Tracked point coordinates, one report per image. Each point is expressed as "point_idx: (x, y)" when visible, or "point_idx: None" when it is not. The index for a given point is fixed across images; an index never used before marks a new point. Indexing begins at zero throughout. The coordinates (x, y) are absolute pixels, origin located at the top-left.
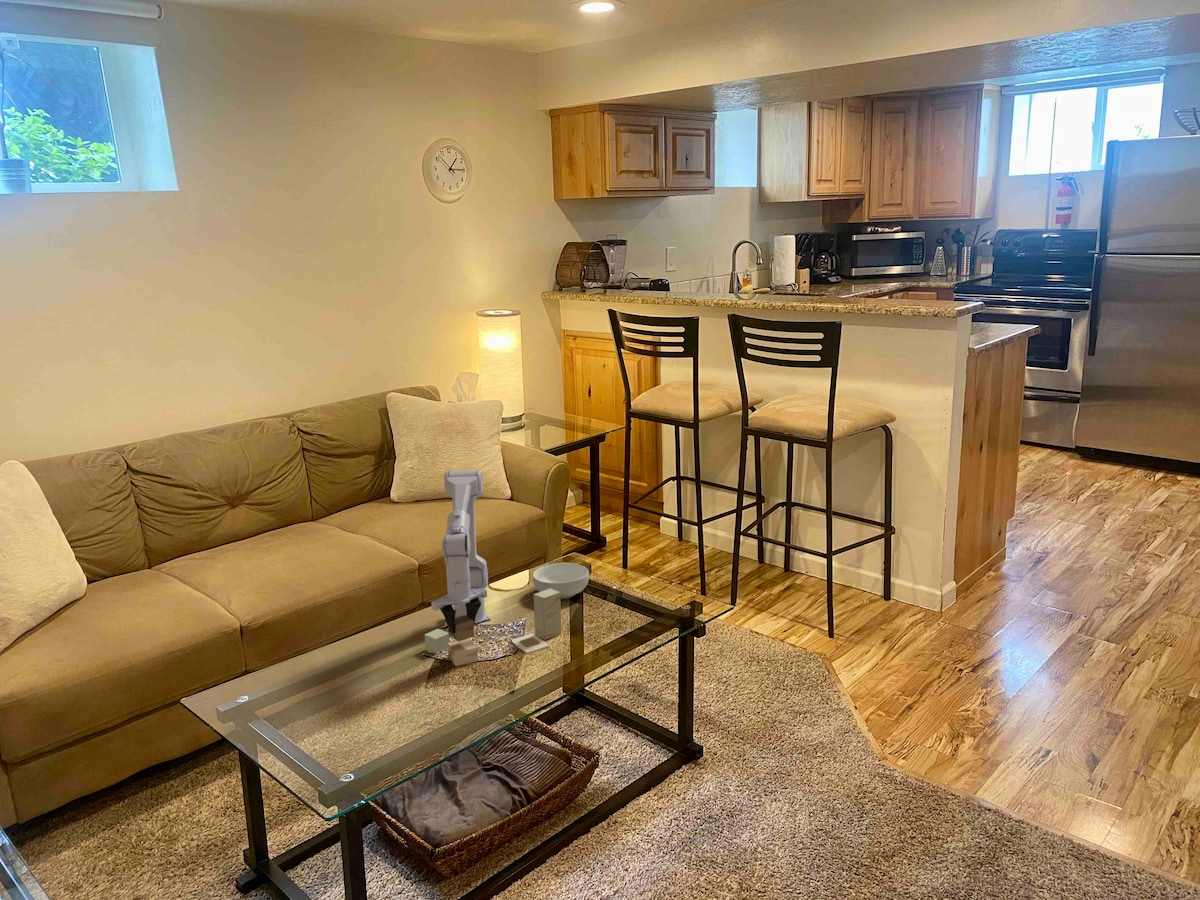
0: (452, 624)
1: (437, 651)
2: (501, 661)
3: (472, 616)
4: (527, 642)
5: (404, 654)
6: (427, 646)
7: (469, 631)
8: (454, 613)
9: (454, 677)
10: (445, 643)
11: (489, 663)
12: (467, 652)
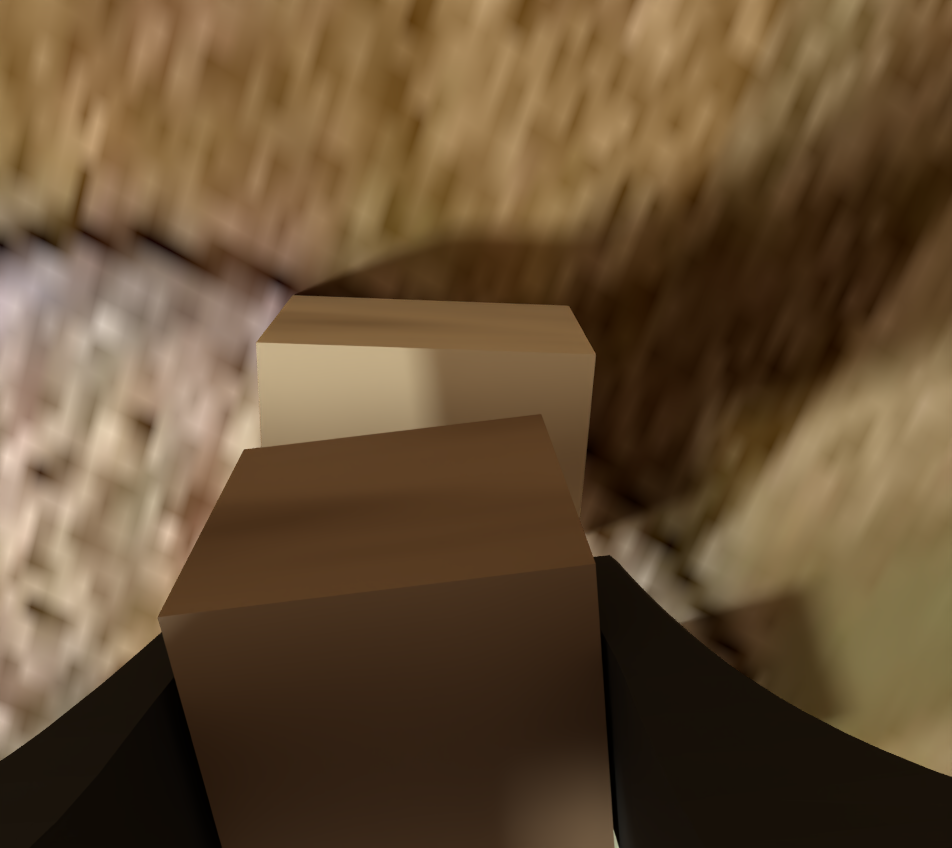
0: (673, 637)
1: None
2: (26, 135)
3: (128, 731)
4: None
5: None
6: None
7: (312, 489)
8: (728, 815)
9: (690, 25)
10: None
11: (183, 162)
12: (409, 336)
